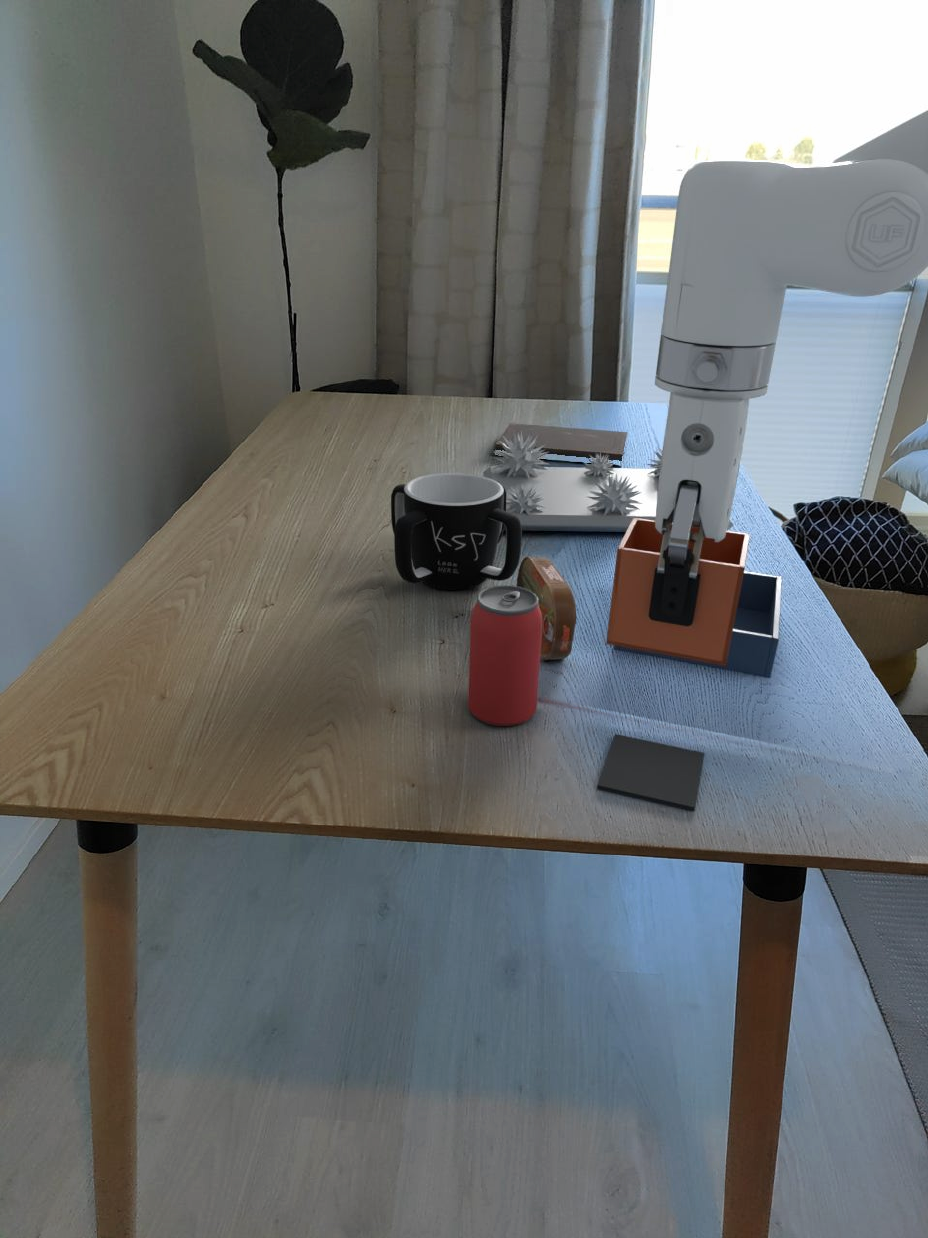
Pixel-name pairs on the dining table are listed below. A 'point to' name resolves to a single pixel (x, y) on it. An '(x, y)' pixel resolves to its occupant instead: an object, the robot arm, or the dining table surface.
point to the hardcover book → (569, 440)
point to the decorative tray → (574, 491)
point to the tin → (550, 605)
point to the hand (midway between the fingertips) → (677, 598)
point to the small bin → (713, 602)
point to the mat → (652, 772)
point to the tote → (748, 628)
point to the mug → (453, 530)
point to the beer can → (504, 655)
